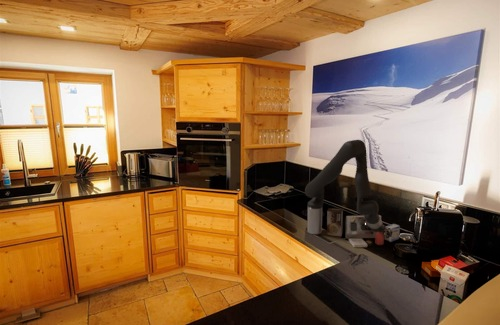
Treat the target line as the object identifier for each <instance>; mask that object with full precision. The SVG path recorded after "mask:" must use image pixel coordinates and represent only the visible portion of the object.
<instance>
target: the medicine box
mask: <svg viewBox="0 0 500 325" xmlns="http://www.w3.org/2000/svg"><path fill="white" fill-rule="evenodd" d="M384 227H385V229H388V228H390V229H391V231H392V236H391V237H390V238H387V237H386V235H384V241H388V242H390V243H392V242H394V241H398V240H399V239H400V230H401V229H400V228H401V226H400V225H399V224H396V223H392V224H389V225H386V226H384ZM386 233H387V232H386Z"/></svg>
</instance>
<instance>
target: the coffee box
mask: <svg viewBox="0 0 500 325" xmlns="http://www.w3.org/2000/svg"><path fill="white" fill-rule="evenodd" d="M326 213H327V214H326V215H327V216H326V221H327V222H326V235H328V236H334V237H335V236H336V237H342V235H343V213H344V212H343V209H341V208H331V207H328V209H327V211H326Z"/></svg>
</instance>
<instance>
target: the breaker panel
mask: <svg viewBox="0 0 500 325" xmlns="http://www.w3.org/2000/svg"><path fill="white" fill-rule="evenodd" d="M378 215H379V217H380V218H381V219H382V215H380V214H378ZM365 222H366V219H365V217H364V215H346V216H345V235H344V237H345V239H347V240H349V239H357V238H362V239H375V233H376V232H374V234H371V233H370V231H369V230H366V229H365V227H364V225H365ZM366 223H367V222H366Z"/></svg>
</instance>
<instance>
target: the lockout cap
mask: <svg viewBox="0 0 500 325" xmlns="http://www.w3.org/2000/svg"><path fill="white" fill-rule="evenodd" d="M384 228H385V226H384ZM384 242H385V235H383V234H381V233H379V232H376V233H375V238H374V243H375V244H376V245H378V246H383V245H384V244H385V243H384Z"/></svg>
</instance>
